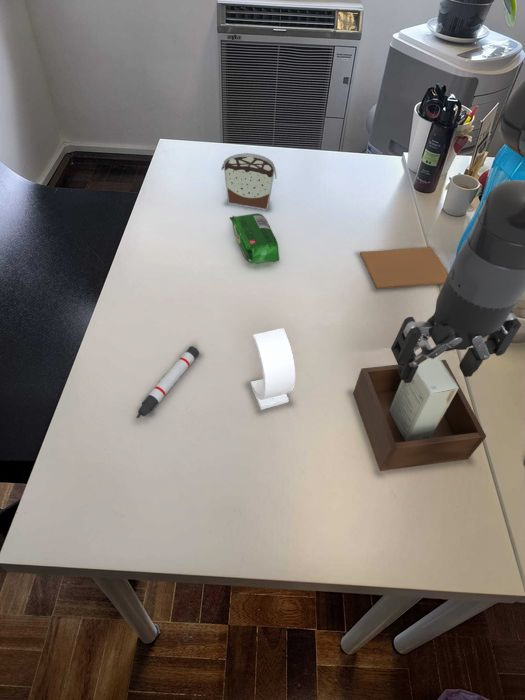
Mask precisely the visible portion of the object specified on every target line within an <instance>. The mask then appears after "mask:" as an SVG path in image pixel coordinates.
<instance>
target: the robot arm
mask: <svg viewBox="0 0 525 700" xmlns="http://www.w3.org/2000/svg"><path fill="white" fill-rule="evenodd" d="M498 121H499V123H498V131H499V136H500V139H501V140H502V142H503V143H504V144H505V145H506V146H507V148H509V149H510V150H511V151H512V152H514V153H515V154H517V155H518V156H521V157H522V158H523V159H525V78H524V79H523V80H522V81H521V82H520V83H519V84H518V85H517V86H516V88H515V89H514V90H513V91H512V92H511V94H510V95H509V96H508V99H507V101H506V102H505V104H504V106H503V108H502V111H501V113H500V117H499V120H498ZM524 292H525V180H521V179H512V180H511V179H510V180H506V181H502V182H500V183H498V184H497V185H496V186H494V187H493V188H492V189H491V191H489V193H488V195H487V196H486V198H485V199H484V201H483V204H482V205H481V208H480V210H479V212H478V214H477V216H476V219H475V221H474V223H473V225H472V227H471V230H470V231H469V234H468V236H467V237H466V239H465V241H464V242H463V244H462V246H461V247H460V249H459V250H458V252H457V254H456V256H455V258H454V261H453V262H452V265H451V267H450V269H449V271H448V276H447V278H446V280H445V283H444V284H442V287H441V289H440V291H439V294H438V295H437V298H436V303H435V309H434V312H433V314H432V315H431V316H430V317H429V318H428V319H427V320H426V321H416V319H415V318H414V316H407V317H406V318H405V319H404V320H403V322H402V324H401V326H400V327H399V330H398V332H397V335H396V337H395V338H394V341H393V343H392V344H391V347H390V350H391V352H392V355H393V357H394V359H395V362H396V365H399V367H398V373H399V375H400V377H401V380H403V381H404V383H411V381H412V379H413V377H414V375H415V373H416V371H417V369H418V367H419V366H418V365H419V364H421V363H422V362H424V361H425V360H426V359H428V358H429V359H434V358H436V357H437V356H438V357H439V356H440V355H441V354H443V353H445V352H450V351H454V350H457V351H463V350H464V351H465V350H466V352H465V353H464V355H463V357H462V359H461V360H460V362H459V365H458V367H459V369H460V372H461V373H462V376H463V377H464V378H469V377H470V378H471V377H472V376H473V375H474V374H475V373H476V372H477V371H478V370H479V367H480V366H481V365H482V364H483V362H484V361H487V360H488V359H489V358H490V357H491V355H495V356H497V357H499V356H502V355H504V354H506V352H507V350H508V348H509V347H510V345H511V344H512V341H513V340H514V338H515V337H516V336H517V334H518V332H519V330H520V328H521V327H522V323H521V321H520V320H519V318H518V317H517V316H516V314H515V313H514V312H513V309H514V307H515V306H516V304H517V303H518V302H519V300H520V298H521V297H522V295H523V293H524ZM486 337H487V339H486V340H484V339H485V338H486ZM429 338H431V339H432V341H433V343H434V346H433V347H431V345H430V343H429ZM419 349H420V350H421V351H420V353H418V354H416V351H417V350H419Z"/></svg>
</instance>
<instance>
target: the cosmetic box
mask: <svg viewBox="0 0 525 700" xmlns="http://www.w3.org/2000/svg"><path fill="white" fill-rule="evenodd" d="M441 360H442V359H441V358H440V357H439V355H438V356H437V357H436V358H434V359H429V358H428V359H426V360H425V361H424V362H422V363H421V364H419V365H418V366H419V367H418V369H417V371H416V373H415V375H414V377H413V379H412V381H411V383H404V381H403V380H401V383H400V385H399V388H398V390H397V392H396V395H395V397H394V400H393V402H392V405H391V407H390V409H389V411H390V413H391V415H392V417H393V419H394V421H395V423H396V425H397V427H398V429H399V431H400V433H401V434H402V436H403V438H404V440H405V441H413V440H421V439H426V438H430V437H431V436H432V434H433V433H434V431H435V429H436V427H437V426H438V424H439V422H440V420H441V418H442V417H443V415H444V413H445V412H446V410H447V408H448V406H449V404H450V403H451V401H452V399H453V397H454V396H455V394H456V392H457V390H458V389H459V388H458V386H457V384H456V383H455V381H454V379H453V378H452V376H451V375H450V373H449V372H448V370H447V369H446V367H445V366H444V364H443V363H442V362H441Z"/></svg>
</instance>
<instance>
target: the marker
mask: <svg viewBox="0 0 525 700" xmlns="http://www.w3.org/2000/svg"><path fill="white" fill-rule="evenodd" d="M199 355H200V351H199V349H198V348H197V347H196V346H192V345H191V346H189V347H188V348H187V349H186V351H185V352H184V353H183V354H182V355H181V356H180V357H179V358H178V360H177V361H176V362H175V363H174V364H173V365H172V367H171V368H170V369H169V370H168V371H167V373H166V374H165V375H164V376H163V377H162V379H160V380H159V382H158V383H156V385H155V387H154V388H152V389H151V391H150V392H149V393H148V395H147V396H146V398H145V399H144V400H142V402H141V406H140V408H139V409H138V410H137V412H138V414H137V415H136V416H135V417H136V418H137V419H139V418H140V417H141V416H142V417H145V416H146V415H147V414H148V413H150V412H152V411H153V410H154V409H156V408H157V407H156V406H158V405H159V404H160V402H162V400H163V399H164V397H165V396H166V395H167V394H168V393H169V392H170V391H171V389H172V388H173V387H174V385H175V384H176V383H177V382H178V381H179V379H180V378H181V377H182V376H183V375H184V373H185V372H186V371H187V370H188V369H189V368H190V367H191V365H192V363H193V362H194V361H195V360H196V359H197V357H198V356H199Z"/></svg>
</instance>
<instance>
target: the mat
mask: <svg viewBox="0 0 525 700" xmlns="http://www.w3.org/2000/svg"><path fill="white" fill-rule="evenodd" d="M359 255H360V257H361V260H362V262H363V264H364V266H365V268H366V270H367V272H368V274H369V276H370V278H371V281H372V283H373V285H374V287H375V290H379V289H380V290H381V289H393V288H394V289H395V288H396V289H397V288H407V287H408V288H409V287H421V286H432V285H444V283H445V280H446V278H447V276H448V274H449V272H448V271H447V269H446V267H445V265H444V264H442V262H441V260H440V258H439V257H438V255H437V254H436V251H435V250H434V249H433V247H431V246H430V247H416V248H402V249H387V250H386V249H385V250H370V251H360V252H359Z"/></svg>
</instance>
